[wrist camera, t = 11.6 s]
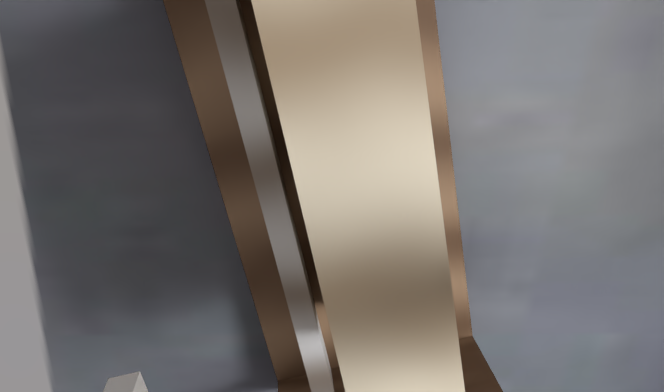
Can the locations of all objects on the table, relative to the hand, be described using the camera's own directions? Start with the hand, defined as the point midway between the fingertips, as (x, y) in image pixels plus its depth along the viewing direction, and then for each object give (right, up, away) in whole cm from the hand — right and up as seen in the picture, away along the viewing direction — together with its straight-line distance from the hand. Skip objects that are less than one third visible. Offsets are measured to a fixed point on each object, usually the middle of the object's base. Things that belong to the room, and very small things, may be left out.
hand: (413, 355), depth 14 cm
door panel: (-2, +6, +14) cm, 16 cm away
